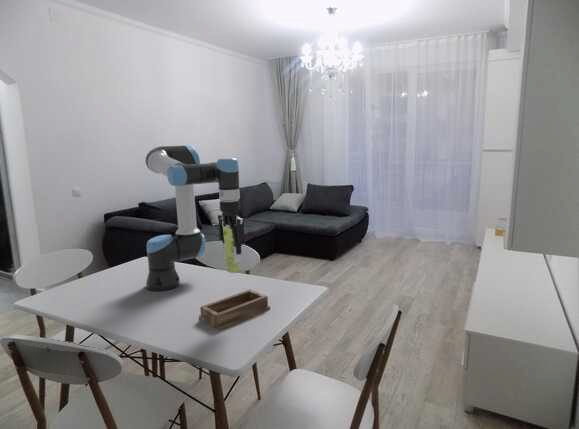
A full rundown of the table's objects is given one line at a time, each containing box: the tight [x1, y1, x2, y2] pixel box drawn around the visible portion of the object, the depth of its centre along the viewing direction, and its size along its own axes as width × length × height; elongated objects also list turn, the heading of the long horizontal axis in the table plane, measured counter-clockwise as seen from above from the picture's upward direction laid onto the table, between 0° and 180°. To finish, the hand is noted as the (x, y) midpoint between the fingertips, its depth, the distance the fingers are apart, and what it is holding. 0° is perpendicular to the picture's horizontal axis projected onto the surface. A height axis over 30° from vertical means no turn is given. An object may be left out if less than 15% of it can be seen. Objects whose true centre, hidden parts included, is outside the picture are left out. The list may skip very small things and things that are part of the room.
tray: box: [198, 289, 271, 331], centre depth 153 cm, size 14×24×5 cm, turn 134°
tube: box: [222, 221, 241, 274], centre depth 148 cm, size 6×5×20 cm
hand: (232, 260), depth 150 cm, fingers closed on tube, 6 cm apart
